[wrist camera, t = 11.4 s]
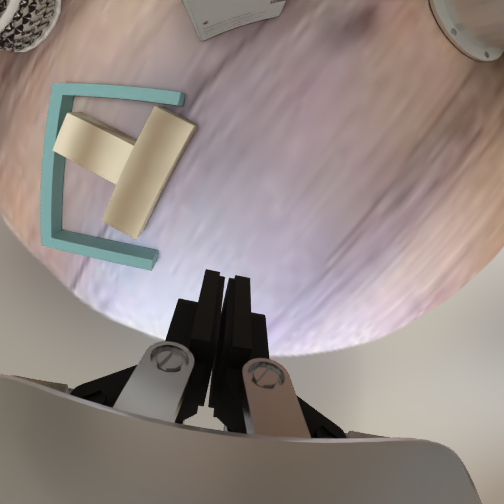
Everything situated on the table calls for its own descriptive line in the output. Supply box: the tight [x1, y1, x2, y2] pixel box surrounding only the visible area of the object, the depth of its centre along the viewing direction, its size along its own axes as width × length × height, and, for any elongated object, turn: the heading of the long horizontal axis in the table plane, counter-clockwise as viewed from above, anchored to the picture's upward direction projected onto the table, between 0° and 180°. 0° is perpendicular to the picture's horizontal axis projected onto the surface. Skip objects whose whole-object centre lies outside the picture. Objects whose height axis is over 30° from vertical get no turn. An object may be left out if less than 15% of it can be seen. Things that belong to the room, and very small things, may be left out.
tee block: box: [53, 106, 198, 239], centre depth 27 cm, size 12×12×3 cm
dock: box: [40, 83, 185, 271], centre depth 28 cm, size 14×17×2 cm
